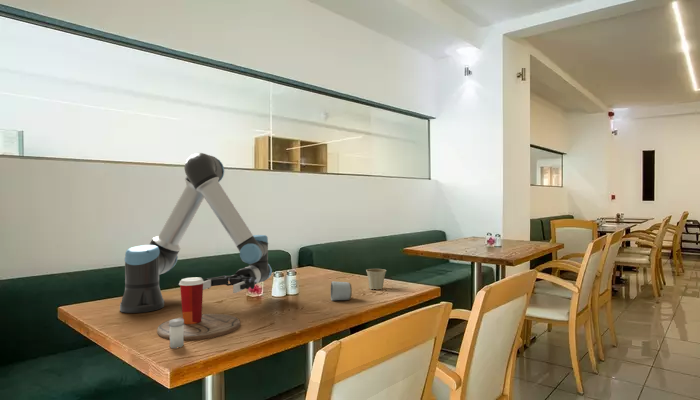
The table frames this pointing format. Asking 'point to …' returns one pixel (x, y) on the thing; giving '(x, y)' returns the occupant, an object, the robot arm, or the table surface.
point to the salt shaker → (176, 333)
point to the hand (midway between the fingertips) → (216, 288)
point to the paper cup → (191, 299)
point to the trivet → (204, 327)
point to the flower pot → (376, 278)
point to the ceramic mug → (340, 291)
